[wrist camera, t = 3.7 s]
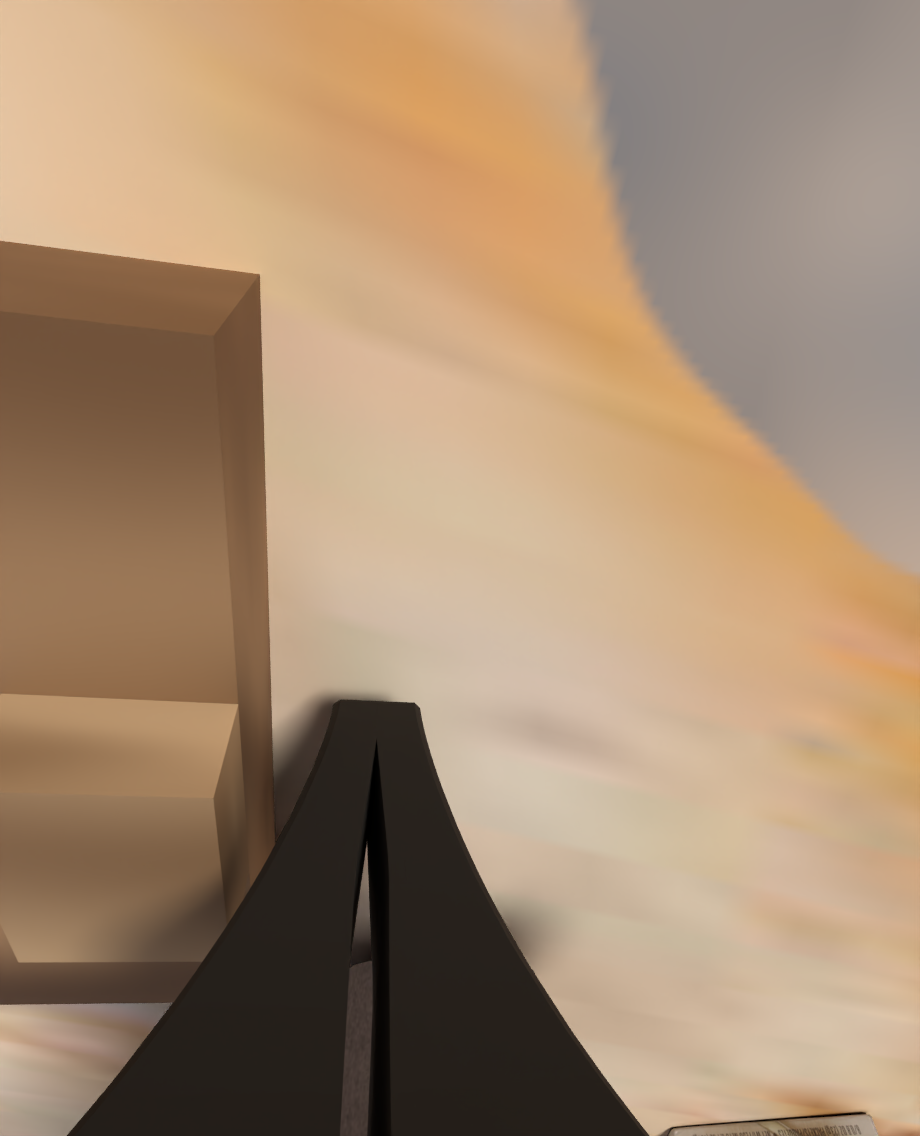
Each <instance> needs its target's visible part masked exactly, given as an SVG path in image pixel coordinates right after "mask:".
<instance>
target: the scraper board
mask: <svg viewBox="0 0 920 1136" xmlns="http://www.w3.org/2000/svg"><path fill="white" fill-rule="evenodd" d="M274 846H275V821H274V784H273V747H272V710H271V673H270V637H269V600H268V563H267V526H266V489H265V452H264V416H263V379H262V342H261V305H260V274H253V273H245V272H237V271H229V270H222V269H214V268H206V267H198V266H191V265H183V264H175V263H167V262H160V261H152V260H144V259H136V258H129V257H121V256H113V255H105V254H98V253H90V252H82V251H74V250H67V249H59V248H51V247H43V246H36V245H28V244H20V243H12V242H5V241H0V1005H15V1004H95V1003H173V1002H174V1001H175V1000H176V998H177V997H178V996H179V994H180V993H181V991H182V990H183V989H184V987H185V986H186V984H187V983H188V982H189V980H190V979H191V977H192V976H193V975H194V973H195V972H196V970H197V969H198V967H199V966H200V964H201V963H202V962H203V960H204V959H205V957H206V956H207V954H208V953H209V951H210V950H211V948H212V947H213V945H214V944H215V942H216V941H217V939H218V938H219V937H220V935H221V934H222V932H223V931H224V929H225V928H226V926H227V925H228V923H229V921H230V920H231V918H232V917H233V915H234V913H235V912H236V910H237V909H238V907H239V906H240V904H241V902H242V901H243V899H244V898H245V896H246V894H247V893H248V891H249V889H250V888H251V886H252V884H253V883H254V881H255V879H256V878H257V876H258V874H259V873H260V871H261V869H262V867H263V866H264V864H265V862H266V860H267V859H268V857H269V855H270V853H271V851H272V849H273V847H274Z"/></svg>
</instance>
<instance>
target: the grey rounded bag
mask: <svg viewBox="0 0 920 1136" xmlns="http://www.w3.org/2000/svg"><path fill="white" fill-rule="evenodd" d="M532 971H533V970H532ZM533 972H534V971H533ZM534 974H535V973H534ZM372 1008H373V1003H372V961H367V962H363V963H359V964H355V965H353V966H352V967H350V968H349V984H348V1002H347V1019H346V1037H345V1055H344V1073H343V1090H342V1108H341V1126H340V1136H367V1127H368V1104H369V1081H370V1057H371V1033H372Z"/></svg>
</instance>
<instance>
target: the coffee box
mask: <svg viewBox="0 0 920 1136" xmlns="http://www.w3.org/2000/svg"><path fill="white" fill-rule="evenodd" d="M668 1136H879V1135H878V1133H877V1130H876V1127H875V1125H874V1122H873V1119H872V1117H871V1116H870V1115H867V1114H860V1115H846V1116H832V1117H817V1118H801V1119H786V1120H774V1121H760V1122H741V1123H730V1124H718V1125H706V1126H694V1127H682V1128H674V1129H672V1130H671V1132H670V1133H669V1135H668Z"/></svg>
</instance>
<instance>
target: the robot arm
mask: <svg viewBox="0 0 920 1136" xmlns="http://www.w3.org/2000/svg"><path fill="white" fill-rule="evenodd" d="M366 844H367V848H368V875H369V901H370V927H371V953H372V1003H373V1008H372V1033H371V1057H370V1081H369V1104H368V1127H367V1136H649V1135H648V1133H647V1132H646V1131H645V1130H644V1128H643V1127H642V1126H641V1125H640V1123H639V1122H638V1121H637V1119H636V1118H635V1117H634V1116H633V1114H632V1113H631V1112H630V1110H629V1109H628V1108H627V1106H626V1105H625V1104H624V1102H623V1101H622V1100H621V1098H620V1097H619V1096H618V1094H617V1093H616V1092H615V1090H614V1089H613V1088H612V1086H611V1085H610V1084H609V1082H608V1081H607V1080H606V1079H605V1077H604V1076H603V1074H602V1073H601V1072H600V1070H599V1069H598V1067H597V1066H596V1065H595V1063H594V1062H593V1060H592V1059H591V1058H590V1056H589V1055H588V1053H587V1052H586V1050H585V1049H584V1048H583V1046H582V1045H581V1043H580V1042H579V1041H578V1039H577V1038H576V1036H575V1035H574V1034H573V1032H572V1031H571V1029H570V1028H569V1026H568V1025H567V1023H566V1021H565V1020H564V1018H563V1017H562V1015H561V1014H560V1012H559V1011H558V1009H557V1008H556V1006H555V1005H554V1003H553V1001H552V1000H551V998H550V997H549V995H548V994H547V992H546V991H545V989H544V988H543V986H542V984H541V983H540V981H539V980H538V978H537V977H536V975H535V974H534V972H533V971H532V969H531V967H530V966H529V964H528V963H527V961H526V959H525V957H524V956H523V954H522V952H521V951H520V949H519V947H518V945H517V944H516V942H515V940H514V939H513V937H512V935H511V933H510V932H509V930H508V928H507V926H506V924H505V923H504V921H503V919H502V917H501V915H500V914H499V912H498V910H497V908H496V906H495V904H494V902H493V901H492V899H491V897H490V895H489V893H488V891H487V889H486V887H485V885H484V883H483V881H482V879H481V877H480V875H479V873H478V871H477V869H476V867H475V864H474V862H473V860H472V858H471V856H470V854H469V851H468V849H467V847H466V845H465V843H464V841H463V838H462V836H461V834H460V831H459V829H458V827H457V824H456V822H455V819H454V817H453V814H452V812H451V809H450V807H449V804H448V802H447V799H446V797H445V794H444V792H443V789H442V786H441V783H440V781H439V778H438V775H437V772H436V769H435V766H434V763H433V760H432V756H431V753H430V750H429V746H428V743H427V739H426V735H425V732H424V727H423V723H422V718H421V712H420V708H419V707H418V706H417V705H416V704H415V703H407V702H384V701H361V700H339V701H338V702H336V703H335V704H333V709H332V714H331V718H330V722H329V725H328V729H327V732H326V735H325V738H324V741H323V743H322V746H321V749H320V751H319V754H318V756H317V759H316V761H315V764H314V766H313V769H312V771H311V773H310V775H309V778H308V780H307V782H306V784H305V786H304V788H303V790H302V793H301V795H300V797H299V799H298V801H297V803H296V806H295V808H294V810H293V812H292V814H291V816H290V818H289V820H288V822H287V823H286V825H285V827H284V829H283V831H282V833H281V835H280V836H279V838H278V840H277V842H276V844H275V846H274V847H273V849H272V851H271V853H270V855H269V857H268V859H267V860H266V862H265V864H264V866H263V867H262V869H261V871H260V873H259V874H258V876H257V878H256V879H255V881H254V883H253V884H252V886H251V888H250V889H249V891H248V893H247V894H246V896H245V898H244V899H243V901H242V902H241V904H240V906H239V907H238V909H237V910H236V912H235V913H234V915H233V917H232V918H231V920H230V921H229V923H228V925H227V926H226V928H225V929H224V931H223V932H222V934H221V935H220V937H219V938H218V939H217V941H216V942H215V944H214V945H213V947H212V948H211V950H210V951H209V953H208V954H207V956H206V957H205V959H204V960H203V962H202V963H201V964H200V966H199V967H198V969H197V970H196V972H195V973H194V975H193V976H192V977H191V979H190V980H189V982H188V983H187V984H186V986H185V987H184V989H183V990H182V991H181V993H180V994H179V996H178V997H177V998H176V1000H175V1001H174V1002H173V1004H172V1005H171V1006H170V1008H169V1009H168V1010H167V1012H166V1013H165V1014H164V1015H163V1017H162V1018H161V1019H160V1021H159V1022H158V1023H157V1025H156V1026H155V1027H154V1028H153V1030H152V1031H151V1032H150V1034H149V1035H148V1036H147V1038H146V1039H145V1040H144V1042H143V1043H142V1044H141V1045H140V1047H139V1048H138V1049H137V1051H136V1052H135V1053H134V1055H133V1056H132V1057H131V1058H130V1060H129V1061H128V1062H127V1064H126V1065H125V1066H124V1068H123V1069H122V1070H121V1071H120V1073H119V1074H118V1075H117V1076H116V1078H115V1079H114V1080H113V1081H112V1083H111V1084H110V1085H109V1086H108V1088H107V1089H106V1090H105V1091H104V1092H103V1094H102V1095H101V1096H100V1097H99V1098H98V1100H97V1101H96V1102H95V1103H94V1104H93V1105H92V1107H91V1108H90V1109H89V1110H88V1111H87V1113H86V1114H85V1115H84V1116H83V1117H82V1118H81V1120H80V1121H79V1122H78V1123H77V1124H76V1126H75V1127H74V1128H73V1129H72V1130H71V1132H70V1133H69V1134H68V1135H67V1136H340V1126H341V1108H342V1090H343V1073H344V1055H345V1037H346V1019H347V1002H348V984H349V967H350V957H351V950H352V943H353V936H354V929H355V922H356V915H357V908H358V901H359V894H360V887H361V880H362V873H363V865H364V858H365V851H366Z"/></svg>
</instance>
